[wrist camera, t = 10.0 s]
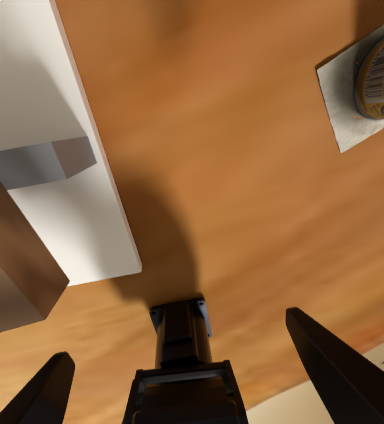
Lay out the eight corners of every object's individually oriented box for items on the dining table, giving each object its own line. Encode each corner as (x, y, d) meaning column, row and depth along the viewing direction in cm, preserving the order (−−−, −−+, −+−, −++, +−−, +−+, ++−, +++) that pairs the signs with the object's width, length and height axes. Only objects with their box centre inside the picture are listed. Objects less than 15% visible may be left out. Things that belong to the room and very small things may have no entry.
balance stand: (142, 265, 21) (131, 315, 16) (37, 285, 21) (-11, 342, 16) (30, -73, 11) (-100, -252, 6) (-166, -40, 11) (-484, -192, 6)
